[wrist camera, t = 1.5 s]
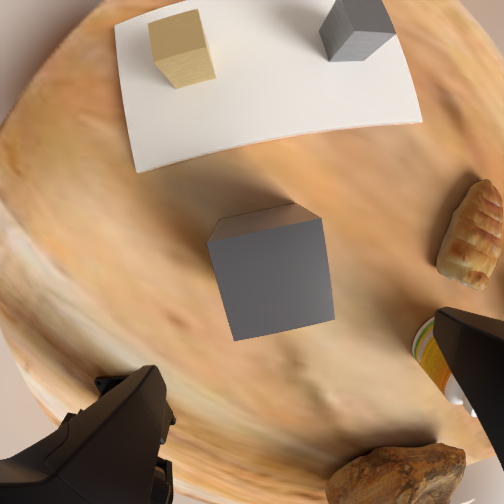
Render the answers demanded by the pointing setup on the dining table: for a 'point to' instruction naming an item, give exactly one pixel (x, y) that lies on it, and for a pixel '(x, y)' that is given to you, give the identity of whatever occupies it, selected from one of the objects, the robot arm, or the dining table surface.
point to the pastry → (473, 237)
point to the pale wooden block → (181, 49)
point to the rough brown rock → (399, 476)
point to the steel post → (355, 29)
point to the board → (255, 82)
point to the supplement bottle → (437, 366)
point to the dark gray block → (272, 270)
